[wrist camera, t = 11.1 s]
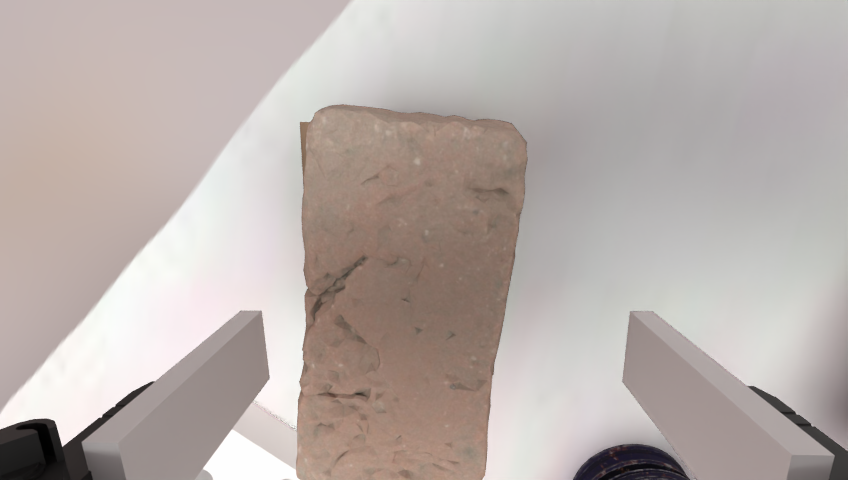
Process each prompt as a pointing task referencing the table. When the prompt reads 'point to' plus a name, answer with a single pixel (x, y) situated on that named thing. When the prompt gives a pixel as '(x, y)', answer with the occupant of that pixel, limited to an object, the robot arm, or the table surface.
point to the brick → (404, 290)
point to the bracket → (255, 450)
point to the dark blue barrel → (631, 465)
